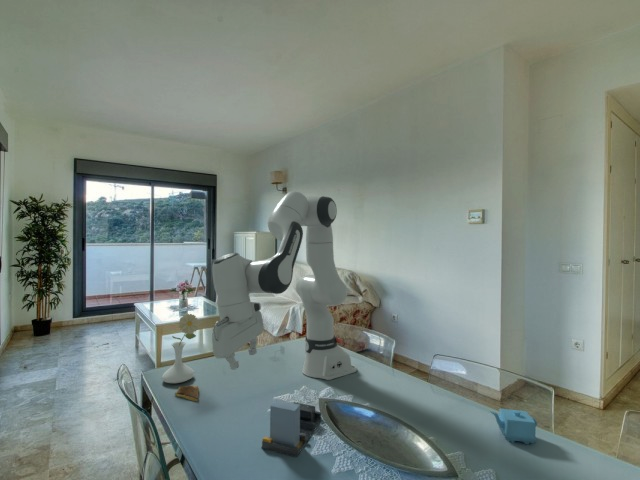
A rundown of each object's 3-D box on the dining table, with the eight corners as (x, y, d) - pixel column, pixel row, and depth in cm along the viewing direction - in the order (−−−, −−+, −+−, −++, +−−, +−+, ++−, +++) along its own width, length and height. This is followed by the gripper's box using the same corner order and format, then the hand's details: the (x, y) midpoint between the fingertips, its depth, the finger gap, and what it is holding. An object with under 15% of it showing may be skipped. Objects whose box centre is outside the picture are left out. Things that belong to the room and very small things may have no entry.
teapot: (492, 441, 93) (493, 414, 92) (486, 429, 98) (487, 403, 98) (541, 447, 90) (542, 419, 90) (531, 434, 96) (532, 408, 96)
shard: (198, 403, 112) (198, 398, 112) (173, 406, 109) (173, 401, 109) (198, 389, 122) (198, 384, 122) (175, 392, 120) (176, 386, 120)
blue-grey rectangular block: (269, 443, 89) (270, 406, 89) (276, 436, 92) (276, 400, 92) (294, 449, 87) (294, 411, 87) (299, 441, 90) (300, 404, 90)
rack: (261, 448, 88) (261, 431, 88) (291, 412, 106) (291, 398, 106) (296, 457, 85) (296, 439, 84) (321, 418, 102) (321, 404, 102)
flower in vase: (162, 388, 121) (163, 319, 120) (161, 376, 131) (161, 312, 130) (200, 382, 127) (201, 315, 126) (196, 371, 137) (197, 309, 136)
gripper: (223, 323, 83) (232, 378, 83) (263, 302, 102) (271, 346, 102) (202, 325, 85) (211, 378, 85) (245, 303, 104) (253, 347, 104)
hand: (244, 361), depth 94 cm, fingers open, 8 cm apart
